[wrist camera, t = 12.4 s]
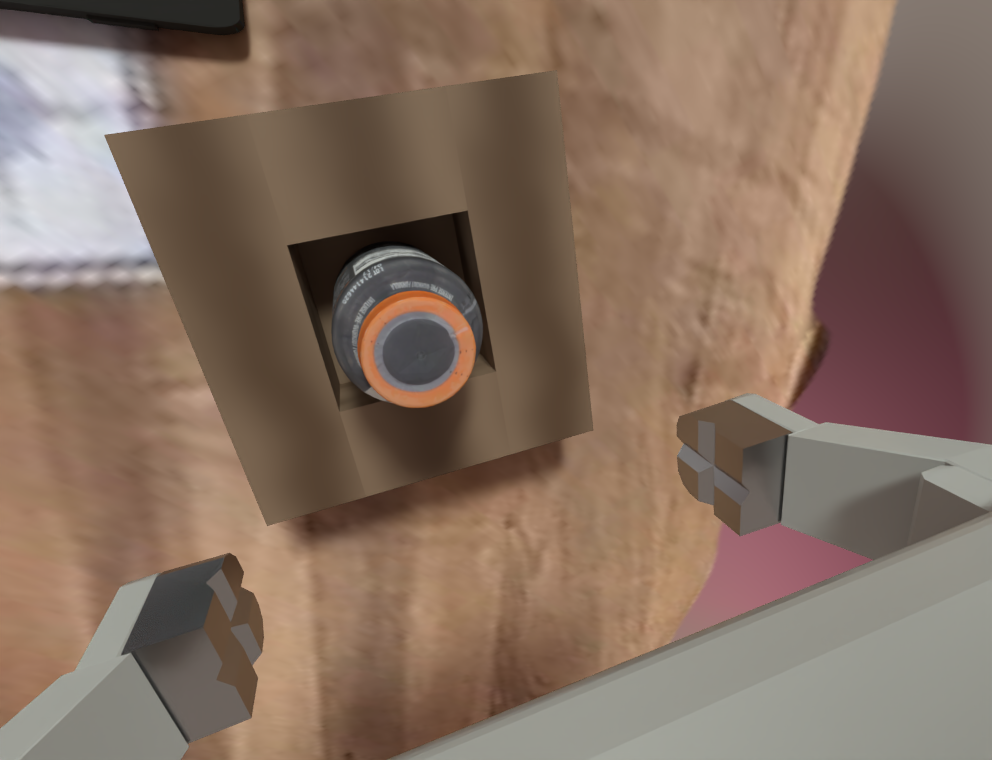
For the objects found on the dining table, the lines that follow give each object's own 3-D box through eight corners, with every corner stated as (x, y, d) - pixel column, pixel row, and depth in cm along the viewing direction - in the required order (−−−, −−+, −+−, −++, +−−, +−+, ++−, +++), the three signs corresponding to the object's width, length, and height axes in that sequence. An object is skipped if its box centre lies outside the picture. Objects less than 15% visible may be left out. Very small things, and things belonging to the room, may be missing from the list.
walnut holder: (278, 476, 30) (267, 525, 26) (150, 146, 23) (104, 134, 19) (559, 398, 34) (593, 430, 29) (520, 91, 27) (556, 70, 22)
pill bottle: (404, 369, 29) (437, 464, 19) (310, 309, 27) (289, 381, 16) (467, 284, 28) (536, 335, 18) (376, 215, 26) (397, 228, 16)
